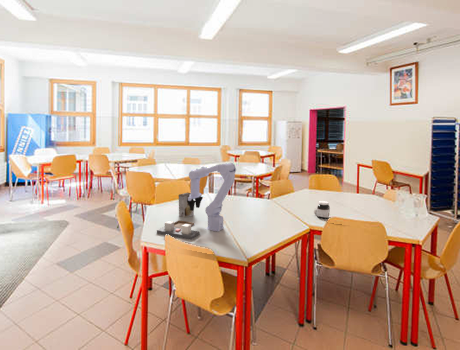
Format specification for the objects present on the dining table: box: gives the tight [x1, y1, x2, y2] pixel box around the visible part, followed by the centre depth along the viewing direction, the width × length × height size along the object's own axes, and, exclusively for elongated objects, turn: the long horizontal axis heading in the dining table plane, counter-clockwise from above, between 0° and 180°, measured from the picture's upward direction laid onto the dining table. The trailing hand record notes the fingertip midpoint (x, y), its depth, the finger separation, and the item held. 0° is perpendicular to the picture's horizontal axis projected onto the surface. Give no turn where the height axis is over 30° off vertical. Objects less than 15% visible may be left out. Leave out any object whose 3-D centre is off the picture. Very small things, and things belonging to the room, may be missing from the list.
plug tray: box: [173, 219, 195, 228], centre depth 192 cm, size 12×12×2 cm
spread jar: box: [313, 200, 331, 220], centre depth 217 cm, size 12×11×12 cm
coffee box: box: [178, 192, 195, 218], centre depth 214 cm, size 9×6×16 cm
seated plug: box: [164, 220, 175, 231], centre depth 180 cm, size 4×4×7 cm
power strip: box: [156, 225, 200, 241], centre depth 178 cm, size 24×9×3 cm, turn 67°
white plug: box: [182, 224, 192, 235], centre depth 175 cm, size 4×4×7 cm
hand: (194, 209), depth 196 cm, fingers open, 7 cm apart
